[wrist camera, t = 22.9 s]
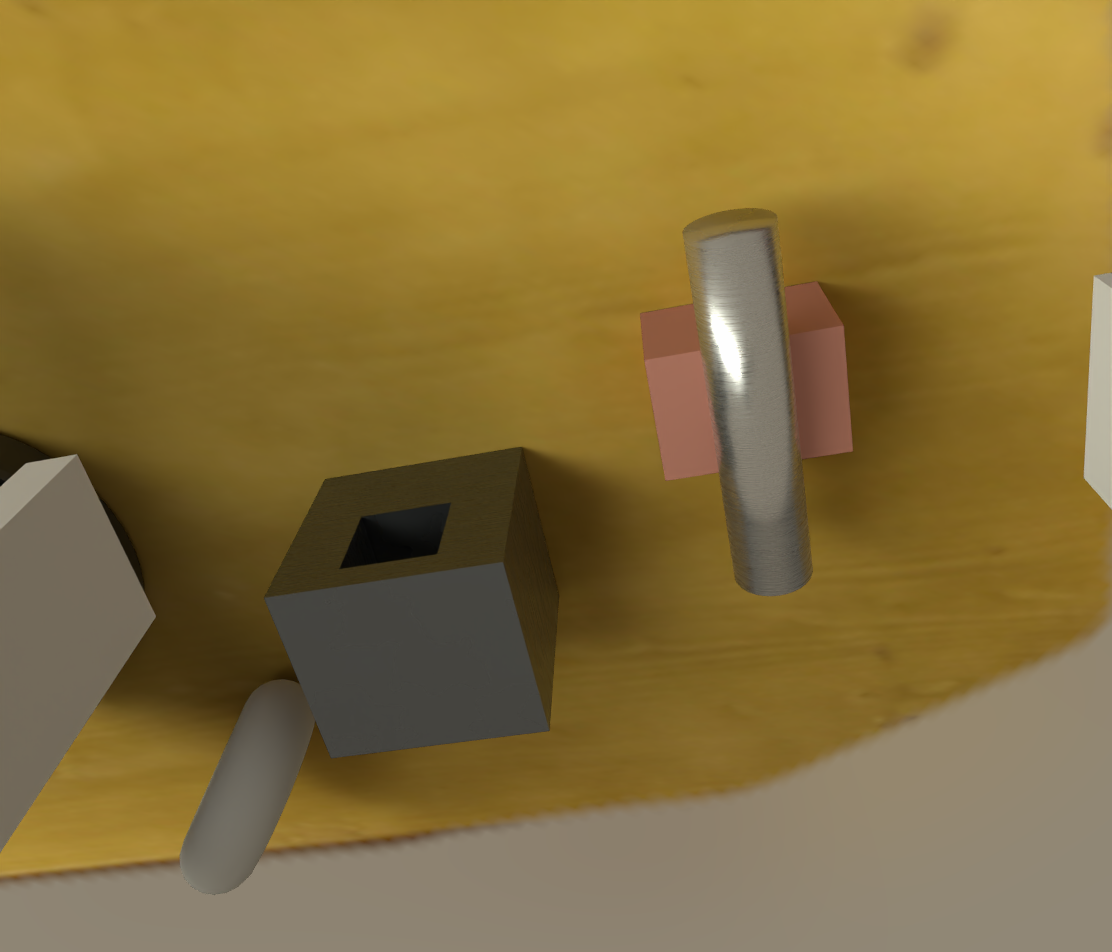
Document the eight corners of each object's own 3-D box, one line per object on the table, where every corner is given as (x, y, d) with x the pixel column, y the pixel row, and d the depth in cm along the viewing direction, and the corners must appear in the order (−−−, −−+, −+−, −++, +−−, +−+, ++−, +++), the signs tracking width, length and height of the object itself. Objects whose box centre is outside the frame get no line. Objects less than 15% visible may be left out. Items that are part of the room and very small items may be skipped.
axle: (725, 559, 40) (746, 603, 37) (673, 223, 33) (695, 249, 30) (797, 541, 40) (824, 584, 37) (760, 201, 33) (790, 226, 30)
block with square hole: (376, 622, 48) (331, 758, 40) (324, 479, 44) (263, 597, 36) (559, 596, 47) (549, 731, 39) (521, 446, 43) (502, 562, 35)
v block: (659, 424, 42) (665, 480, 38) (640, 313, 40) (644, 360, 35) (826, 396, 41) (852, 451, 37) (816, 281, 39) (843, 325, 34)
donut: (280, 783, 53) (216, 950, 45) (219, 760, 53) (142, 924, 44) (346, 654, 49) (289, 811, 40) (280, 627, 48) (208, 780, 39)
